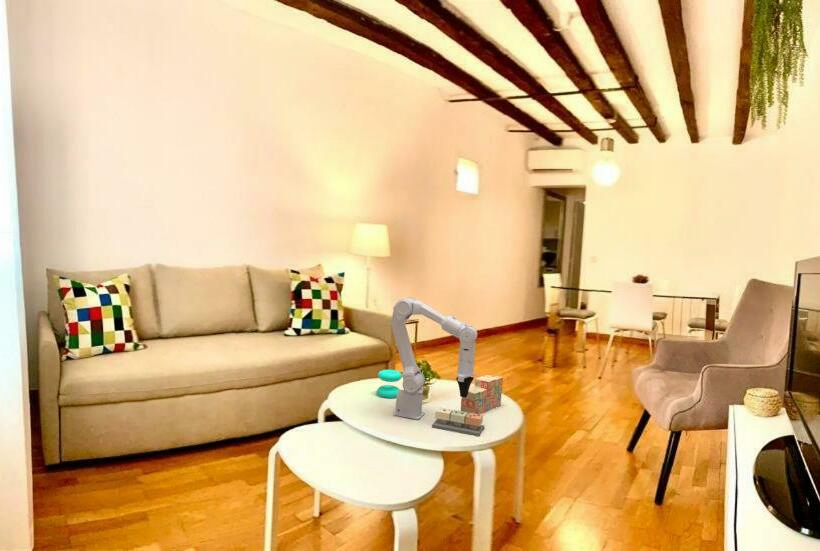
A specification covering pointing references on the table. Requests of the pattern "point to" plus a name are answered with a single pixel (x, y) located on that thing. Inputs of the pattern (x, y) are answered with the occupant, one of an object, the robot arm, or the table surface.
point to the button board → (458, 427)
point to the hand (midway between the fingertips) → (463, 396)
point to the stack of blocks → (483, 395)
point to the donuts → (389, 390)
